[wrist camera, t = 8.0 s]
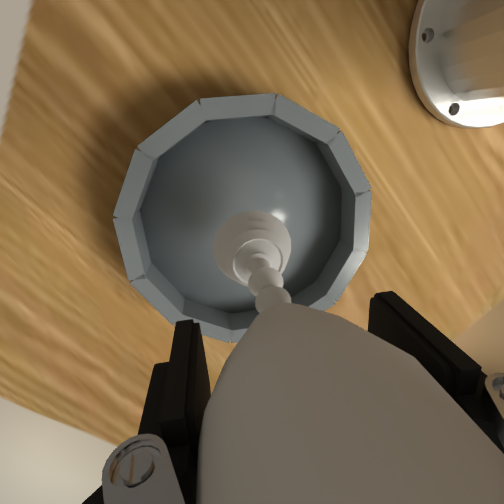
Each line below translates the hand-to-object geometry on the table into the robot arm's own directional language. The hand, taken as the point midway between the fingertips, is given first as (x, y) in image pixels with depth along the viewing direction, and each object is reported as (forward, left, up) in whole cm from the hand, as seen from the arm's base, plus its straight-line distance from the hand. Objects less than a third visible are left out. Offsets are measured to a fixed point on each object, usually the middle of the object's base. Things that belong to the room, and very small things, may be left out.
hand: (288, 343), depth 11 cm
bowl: (0, 0, -16) cm, 16 cm away
